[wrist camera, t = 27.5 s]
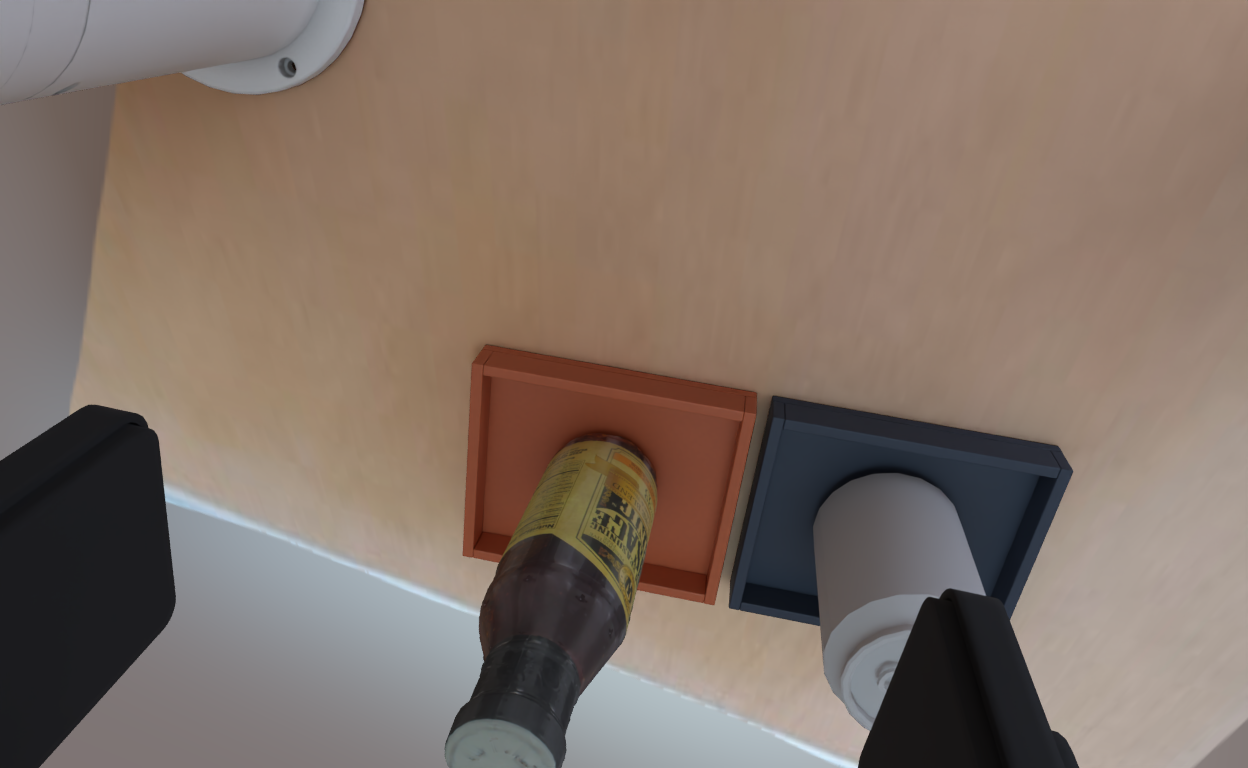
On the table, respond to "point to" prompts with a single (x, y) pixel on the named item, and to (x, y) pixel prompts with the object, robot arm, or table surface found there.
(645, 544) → the sauce bottle
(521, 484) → the terracotta tray
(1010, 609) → the charcoal tray
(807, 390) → the table surface
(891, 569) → the can
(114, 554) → the robot arm
